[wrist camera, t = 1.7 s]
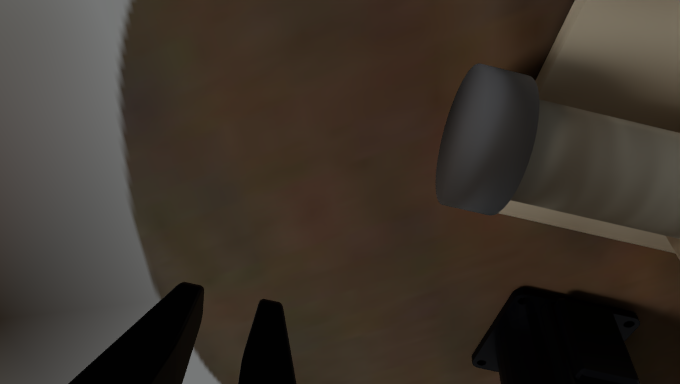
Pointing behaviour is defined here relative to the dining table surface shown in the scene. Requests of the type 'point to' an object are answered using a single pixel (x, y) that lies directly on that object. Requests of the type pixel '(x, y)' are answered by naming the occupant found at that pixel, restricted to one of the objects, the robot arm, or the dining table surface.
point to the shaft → (554, 157)
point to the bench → (614, 86)
